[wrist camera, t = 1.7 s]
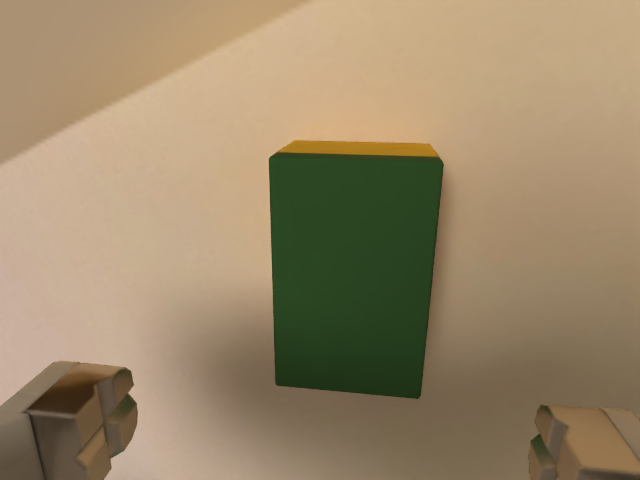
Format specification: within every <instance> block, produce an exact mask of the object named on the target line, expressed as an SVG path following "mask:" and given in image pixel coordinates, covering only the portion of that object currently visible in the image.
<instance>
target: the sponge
mask: <svg viewBox="0 0 640 480" xmlns="http://www.w3.org/2000/svg"><path fill="white" fill-rule="evenodd" d="M443 165H444V164H443V162H442V160H441V159H440V158H439V156H438V154H437V153H436V152H435V150H434V149H433V148H432V147H431V145H430V144H417V143H376V142H336V141H293V142H292V143H290V144H289V145H287V146H285V147H284V148H282V149H281V150H279V151H278V152H277V153H275V154H274V155H272V156H271V157H270V158H269V179H270V213H271V247H272V281H273V316H274V350H275V383H276V385H277V386H286V387H297V388H308V389H319V390H329V391H340V392H351V393H362V394H373V395H383V396H394V397H405V398H416V399H419V398H420V396H421V387H422V377H423V367H424V357H425V347H426V337H427V327H428V317H429V307H430V297H431V286H432V276H433V266H434V256H435V246H436V236H437V226H438V216H439V206H440V196H441V186H442V176H443Z"/></svg>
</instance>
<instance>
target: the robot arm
mask: <svg viewBox="0 0 640 480" xmlns="http://www.w3.org/2000/svg"><path fill="white" fill-rule="evenodd" d="M133 386H134V383H133V378H132V373H131V371H130V370H128V369H127V368H126V367H117V366H108V365H99V364H90V363H79V362H69V361H58V362H53V363H52V364H51V365H50V366H48V367H47V368H46V369H45V370H44V371H42V372H41V373H40V374H39V375H38V376H36V377H35V378H34V379H33V380H32V381H30V382H29V383H28V384H27V385H26V386H24V387H23V388H22V389H21V390H20V391H18V392H17V393H16V394H15V395H13V396H12V397H11V398H10V399H9V400H7V401H6V402H5V403H4V404H3V405H1V406H0V480H104V478H105V477H106V476H107V474H108V473H109V471H110V470H111V469H112V467H111V458H112V457H114V456H116V455H117V454H119V453H121V452H123V451H124V450H125V449H126V447H127V446H128V444H129V443H130V441H131V440H132V437H133V434H134V431H135V429H136V426H137V417H138V411H137V403H136V402H135V401H134V400H133V398H132V397H131V396H130V395H129V394H128V393H129V391H130V390H131V388H132V387H133ZM535 424H536V426H537V428H538V430H539V433H540V434H539V435H537V436H536V437H535V438H534V439H533V440H531V443H530V449H529V455H528V459H529V473H530V478H531V480H640V420H639V419H638V417H637V416H636V415H635V414H634V413H633V412H631V411H629V410H626V409H609V408H598V409H594V408H582V407H570V406H558V405H546V404H540V406H539V408H538V410H537V413H536V418H535Z"/></svg>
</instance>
